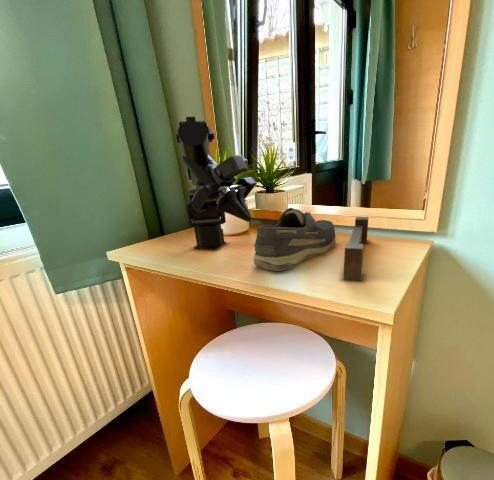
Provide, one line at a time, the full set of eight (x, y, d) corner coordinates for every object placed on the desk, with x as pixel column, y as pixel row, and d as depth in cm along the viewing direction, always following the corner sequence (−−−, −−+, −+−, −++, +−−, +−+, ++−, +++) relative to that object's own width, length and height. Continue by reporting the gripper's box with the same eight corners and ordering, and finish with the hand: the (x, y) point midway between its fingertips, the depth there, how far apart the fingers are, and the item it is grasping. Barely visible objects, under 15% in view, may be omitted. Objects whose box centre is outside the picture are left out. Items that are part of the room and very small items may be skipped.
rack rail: (343, 280, 58) (344, 248, 55) (354, 240, 82) (356, 216, 80) (360, 281, 57) (362, 248, 54) (366, 240, 82) (368, 217, 79)
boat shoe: (345, 241, 82) (347, 200, 78) (289, 279, 59) (287, 225, 55) (310, 236, 87) (309, 198, 83) (246, 270, 65) (241, 220, 60)
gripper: (192, 142, 58) (246, 203, 58) (246, 142, 73) (288, 190, 73) (170, 184, 64) (218, 239, 64) (224, 176, 80) (262, 220, 80)
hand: (250, 220), depth 70 cm, fingers closed
